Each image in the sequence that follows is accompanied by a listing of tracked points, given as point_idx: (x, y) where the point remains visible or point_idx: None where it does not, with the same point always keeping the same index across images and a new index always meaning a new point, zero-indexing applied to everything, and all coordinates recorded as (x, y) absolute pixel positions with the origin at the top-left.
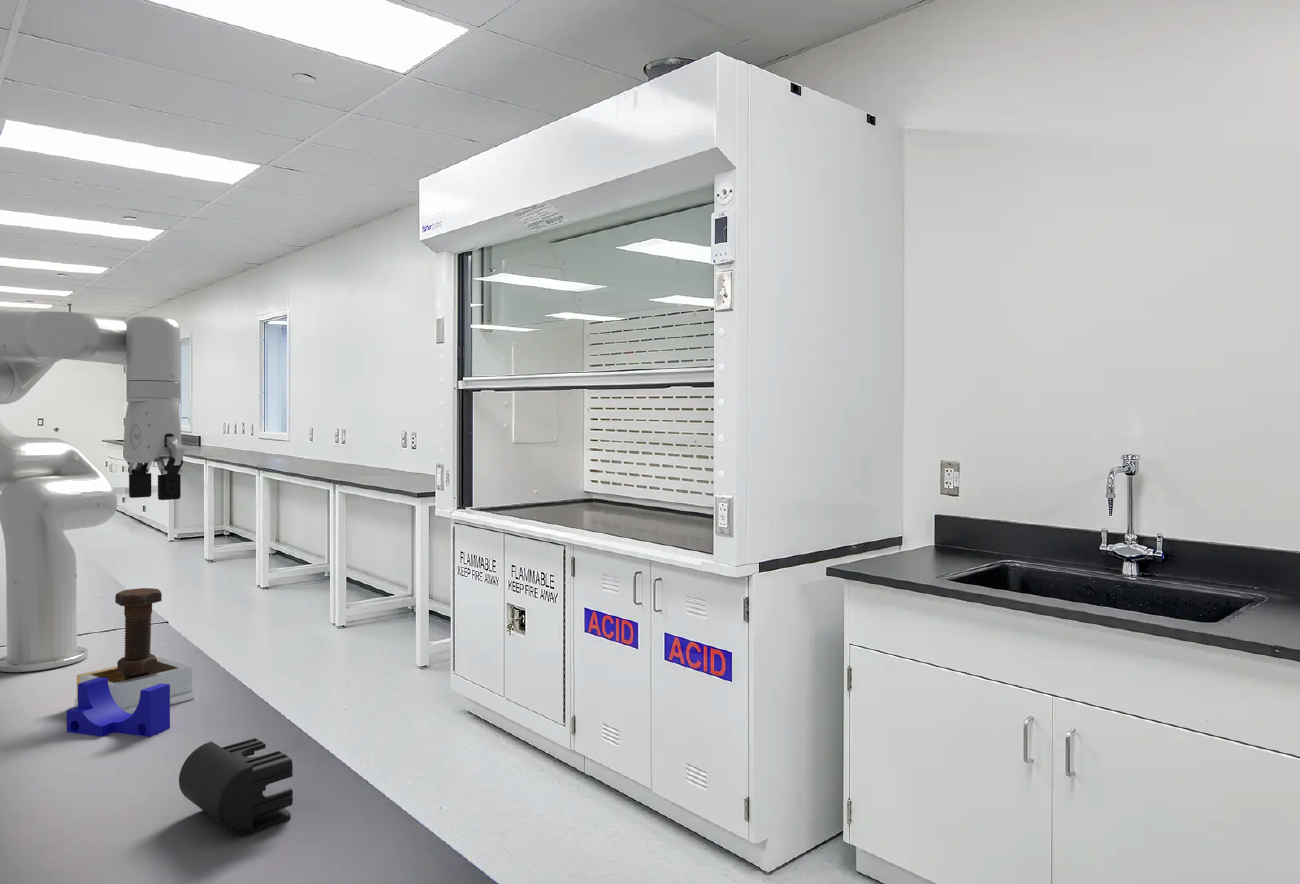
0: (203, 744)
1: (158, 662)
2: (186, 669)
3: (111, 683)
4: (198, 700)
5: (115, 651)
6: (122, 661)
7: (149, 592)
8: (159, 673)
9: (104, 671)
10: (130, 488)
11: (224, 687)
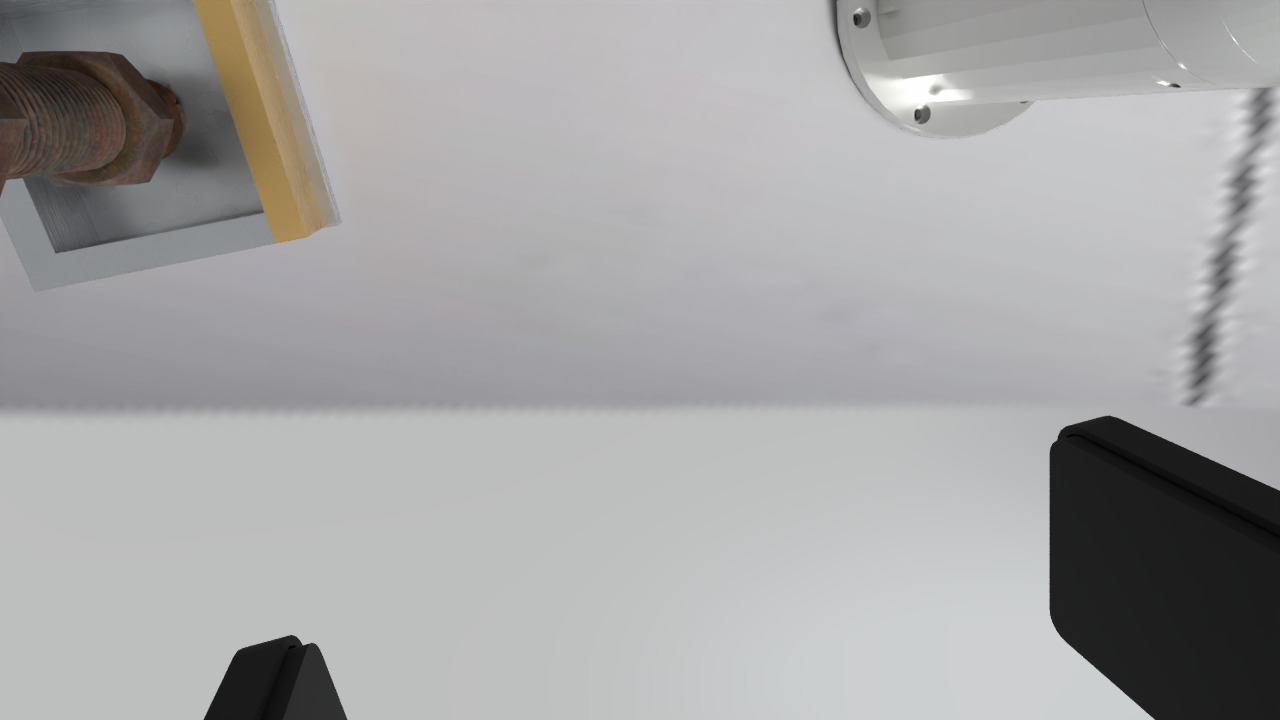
0: None
1: (230, 219)
2: (29, 271)
3: None
4: None
5: (923, 220)
6: (37, 56)
7: None
8: None
9: (202, 26)
10: (1165, 470)
11: (169, 378)
